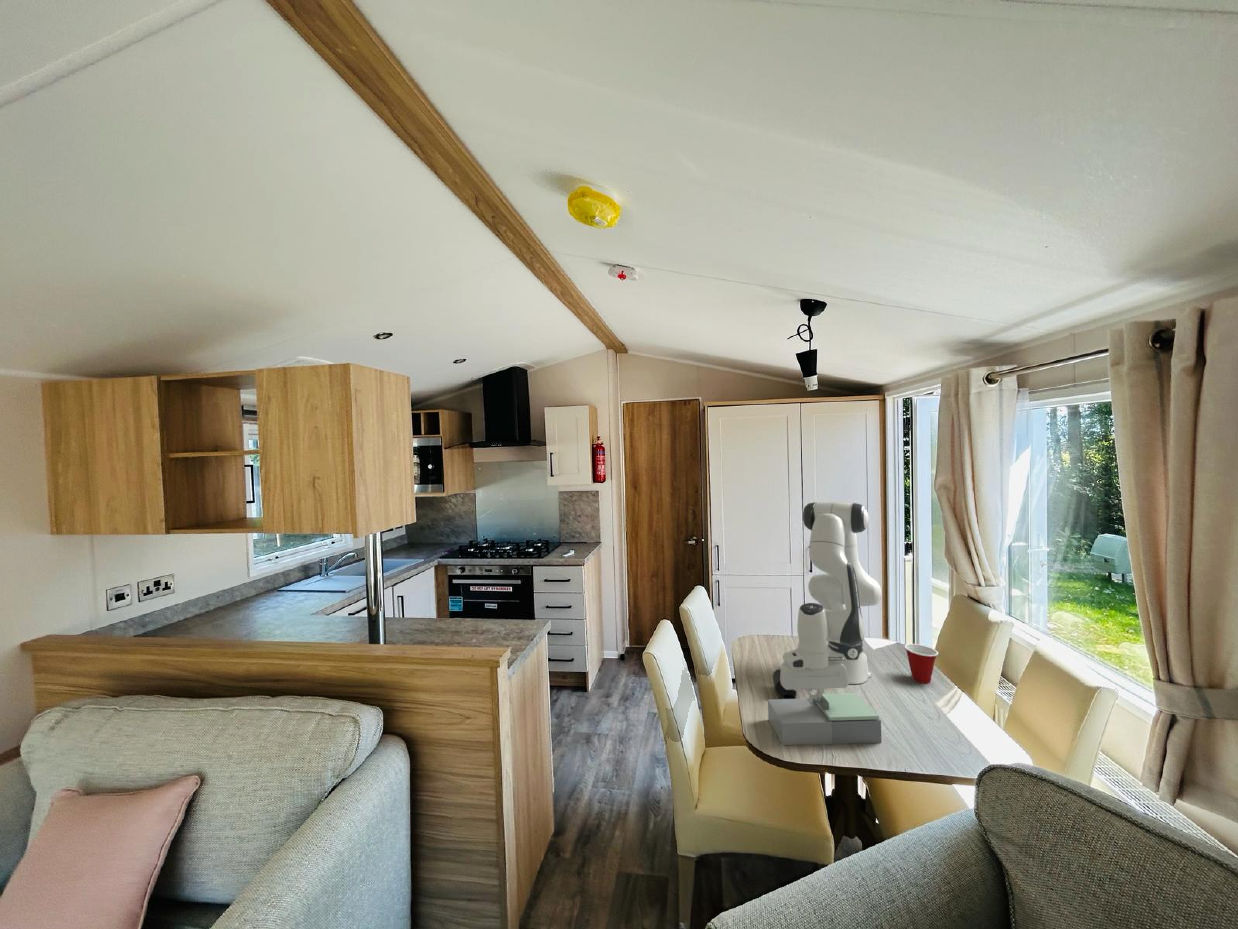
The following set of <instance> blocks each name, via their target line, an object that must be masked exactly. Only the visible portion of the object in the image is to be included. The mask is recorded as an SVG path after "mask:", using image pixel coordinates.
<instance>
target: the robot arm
mask: <svg viewBox="0 0 1238 929" xmlns="http://www.w3.org/2000/svg"><path fill="white" fill-rule="evenodd" d="M802 521H803V525H804V527H805V528H807V529H808V530H810V531H811V532H810V539H809V546H808V552H809V554H808V555H809V556H808V557H809V560H810V561H811V563H812V564H813V566H814V567H816V568H817V569H818V570H819V571H821V572H823V573H821V574H814V575H812V576H811V577H810V580H809V581H808V585H807V586H808V588H807V589H808V593H809V594H810V596H811V597H812V599H814V601H816V602H817V603H815V602H807V603H803V604H802V605H800V606H799V609H798V614H797V624H796V626H797V627H796V628H797V630H796V631H797V636H798V643H797V648H795V649H793V650H791V651H788V652H784V653H783V654H782V658H783V663H782V664H781V666H780V669H781V673H780V682H781V685H782V686H783V687H784V688H785V689H786V690H794V691H796V690H805V691H806V693H807V695H808V698H809V700H810V702H811V703H812V702H820V697H821V696H822V694H824V691H825V690H824V689H827V690H829V689H846V688H847V687H848V686H849V684H850V685H855V684H856V685H858V684H863V683H866V682H868V679H869V678H871V677H872V672H871V671H869V670H868V669H869V668H868V661H867V660H868V659H867V653H866V654H865V652H863V651H864V644H863V643H864V642H863V641H864V639H865V638H864V637H865V633H866V632H865V631H866V630H865V629H866V628H865V625H864V620H863V616H862V612H861V611H862V610H861V607H873V606H877V605H878V604H879V603H880V601H881V599H882V596H883V591H882V587H881V585H880V584H879V582H878V581H877V580H876V579H874V578H873V577H871V576H870V575H869V574H868V573H867V572H866V570H864V568H863V567H862V564H861V563H860V562H861V561H860V557H859V549H858V546H859V545H858V536H857V534H860V533H863V532H864V531H866V529H867V526H868V525H869V522H870V516H869V513H868V510H867V508H866V507H865V506H864V505H863V504H861V503H857V502H853V503H850V502H843V501H834V502H833V501H830V502H829V501H827V502H818V501H817V502H809V503H807V504H806V505H805V506H804V508H803V512H802ZM844 605H845V606H844ZM813 690H817V691H816V693H815V694H816V695H812V694H813Z"/></svg>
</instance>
